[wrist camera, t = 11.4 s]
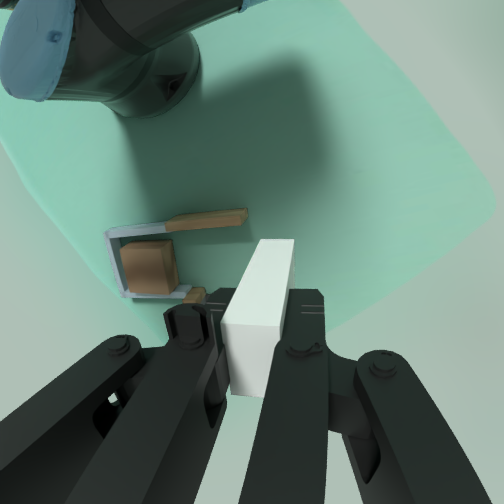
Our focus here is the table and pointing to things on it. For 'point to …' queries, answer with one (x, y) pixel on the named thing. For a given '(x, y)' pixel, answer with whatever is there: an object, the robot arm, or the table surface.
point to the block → (150, 266)
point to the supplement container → (8, 4)
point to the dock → (116, 261)
